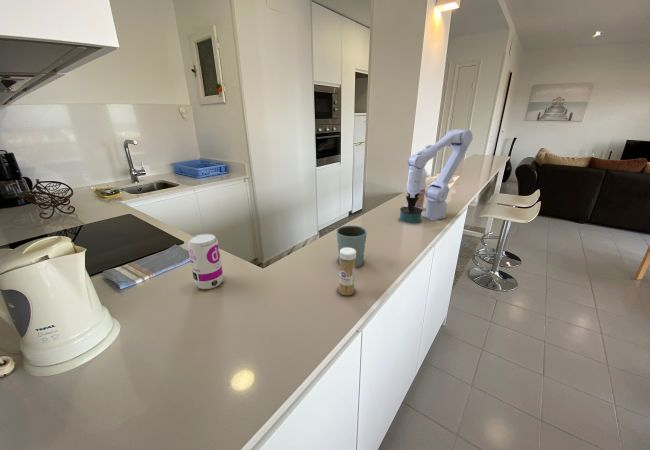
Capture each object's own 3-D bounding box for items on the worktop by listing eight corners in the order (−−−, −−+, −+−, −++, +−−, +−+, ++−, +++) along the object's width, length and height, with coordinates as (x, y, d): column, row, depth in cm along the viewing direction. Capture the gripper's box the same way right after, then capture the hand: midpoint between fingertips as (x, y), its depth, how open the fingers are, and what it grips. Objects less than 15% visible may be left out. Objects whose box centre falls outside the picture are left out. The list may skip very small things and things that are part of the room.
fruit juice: (401, 208, 155) (407, 158, 145) (410, 205, 161) (416, 156, 151) (417, 212, 149) (423, 159, 139) (425, 209, 155) (432, 158, 145)
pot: (410, 216, 143) (411, 206, 141) (424, 222, 135) (426, 212, 133) (395, 219, 139) (396, 208, 137) (408, 225, 131) (410, 214, 129)
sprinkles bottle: (336, 294, 80) (337, 252, 75) (341, 285, 84) (342, 245, 79) (351, 297, 78) (353, 255, 74) (356, 289, 82) (358, 248, 77)
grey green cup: (370, 261, 98) (372, 230, 94) (353, 272, 91) (354, 239, 87) (348, 252, 104) (349, 223, 100) (330, 262, 98) (330, 230, 93)
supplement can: (229, 278, 88) (223, 234, 82) (211, 292, 80) (203, 246, 75) (208, 273, 90) (201, 231, 85) (189, 287, 83) (179, 242, 78)
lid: (411, 207, 142) (413, 197, 140) (426, 213, 133) (428, 203, 131) (395, 210, 138) (396, 200, 136) (409, 216, 129) (411, 205, 127)
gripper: (407, 177, 138) (404, 203, 142) (404, 183, 125) (401, 211, 130) (421, 178, 135) (418, 204, 140) (421, 184, 123) (417, 213, 127)
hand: (411, 208), depth 135 cm, fingers open, 7 cm apart
